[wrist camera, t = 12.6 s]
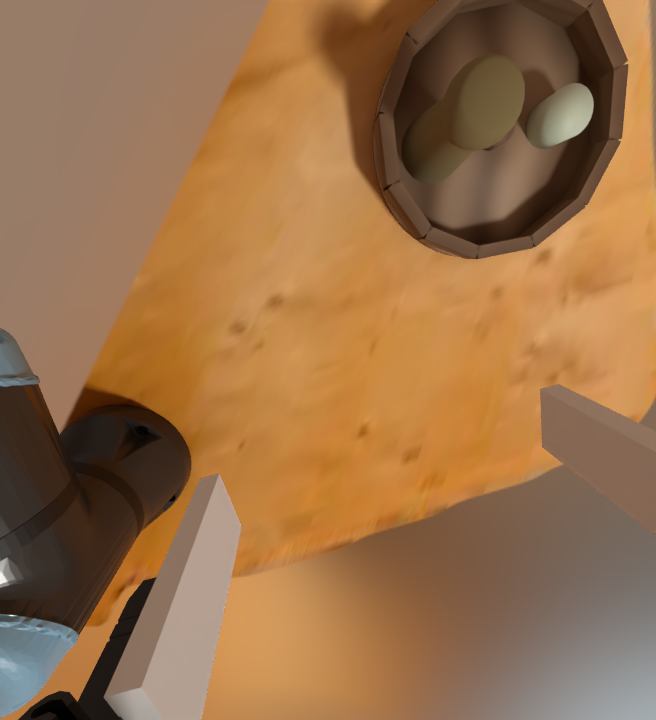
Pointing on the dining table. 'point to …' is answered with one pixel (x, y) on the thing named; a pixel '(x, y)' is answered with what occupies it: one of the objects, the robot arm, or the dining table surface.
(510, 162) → the tray
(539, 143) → the pale beige rounded lump
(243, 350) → the dining table surface
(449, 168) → the olive green knobbed peg
